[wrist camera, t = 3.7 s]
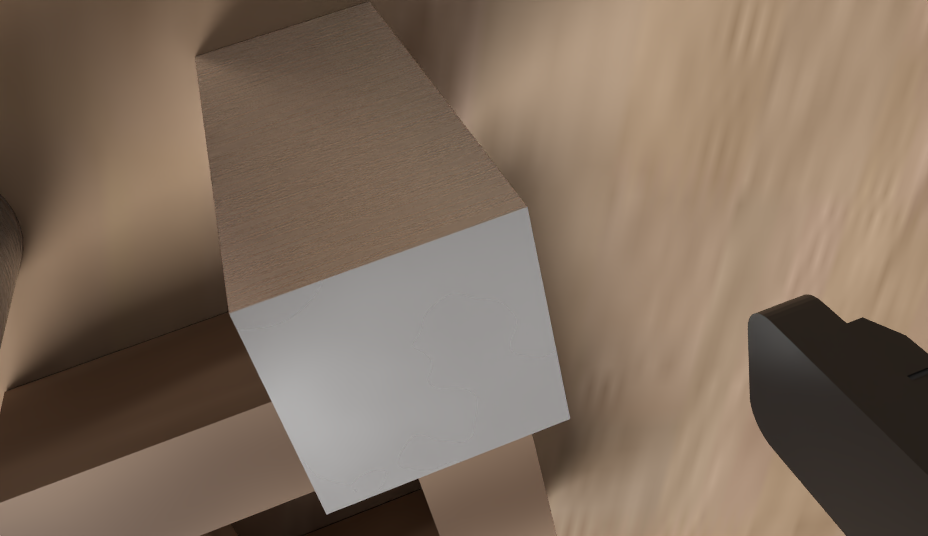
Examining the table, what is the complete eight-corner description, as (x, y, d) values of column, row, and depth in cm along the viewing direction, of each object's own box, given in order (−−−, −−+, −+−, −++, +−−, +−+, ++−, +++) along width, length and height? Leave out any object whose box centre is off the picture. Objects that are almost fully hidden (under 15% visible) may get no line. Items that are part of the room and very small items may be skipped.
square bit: (194, 56, 19) (229, 313, 11) (369, 1, 19) (527, 206, 11) (258, 209, 21) (326, 514, 13) (413, 156, 22) (570, 418, 14)
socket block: (4, 391, 22) (-21, 510, 18) (453, 231, 23) (503, 315, 20) (192, 648, 29) (198, 766, 25) (528, 512, 30) (574, 608, 27)
